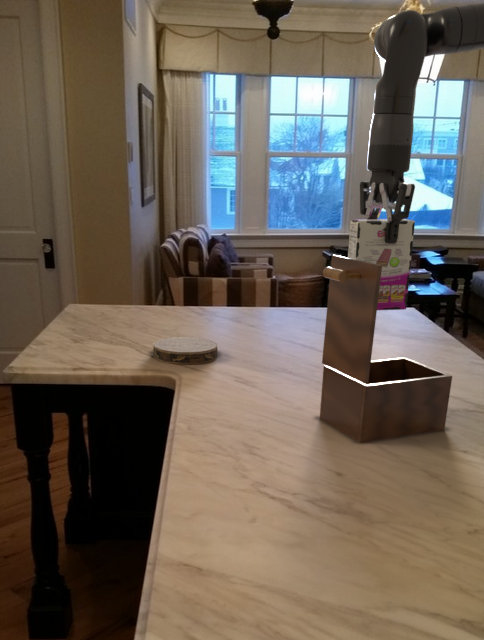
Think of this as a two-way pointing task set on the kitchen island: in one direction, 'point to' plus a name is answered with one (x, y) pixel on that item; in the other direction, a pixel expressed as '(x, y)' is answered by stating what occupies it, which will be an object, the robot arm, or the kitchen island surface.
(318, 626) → the kitchen island surface
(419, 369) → the chest
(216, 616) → the kitchen island surface
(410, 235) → the candy bar box
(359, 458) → the kitchen island surface
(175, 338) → the grey round disc
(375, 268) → the lid
